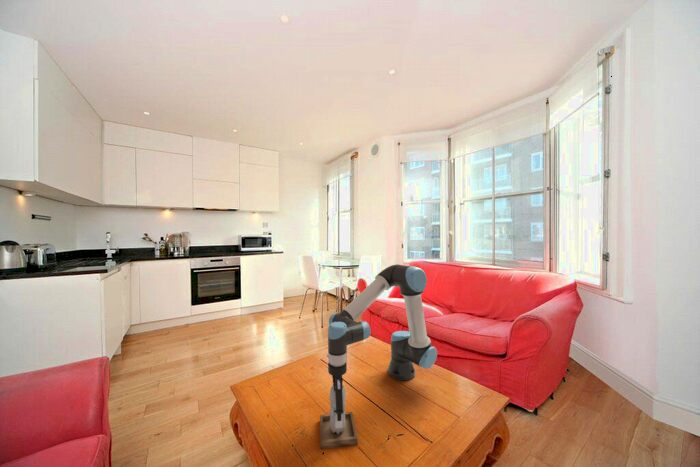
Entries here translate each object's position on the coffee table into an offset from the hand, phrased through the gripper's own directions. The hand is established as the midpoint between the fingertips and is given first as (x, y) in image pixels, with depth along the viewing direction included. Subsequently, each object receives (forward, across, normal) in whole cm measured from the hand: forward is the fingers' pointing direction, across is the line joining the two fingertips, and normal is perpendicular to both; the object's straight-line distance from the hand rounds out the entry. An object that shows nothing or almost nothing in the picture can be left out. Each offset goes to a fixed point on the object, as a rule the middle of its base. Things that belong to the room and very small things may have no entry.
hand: (337, 414), depth 100 cm
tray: (+7, 0, 0) cm, 7 cm away
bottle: (+7, 0, 0) cm, 7 cm away
